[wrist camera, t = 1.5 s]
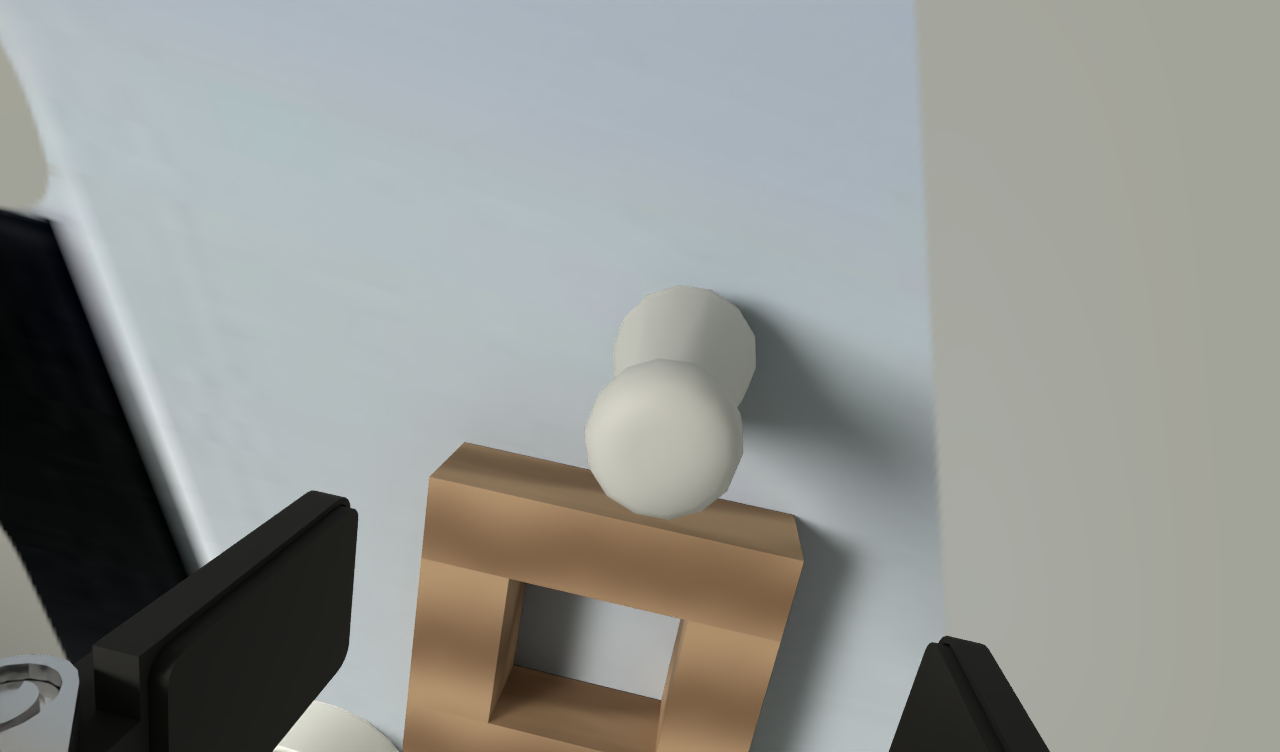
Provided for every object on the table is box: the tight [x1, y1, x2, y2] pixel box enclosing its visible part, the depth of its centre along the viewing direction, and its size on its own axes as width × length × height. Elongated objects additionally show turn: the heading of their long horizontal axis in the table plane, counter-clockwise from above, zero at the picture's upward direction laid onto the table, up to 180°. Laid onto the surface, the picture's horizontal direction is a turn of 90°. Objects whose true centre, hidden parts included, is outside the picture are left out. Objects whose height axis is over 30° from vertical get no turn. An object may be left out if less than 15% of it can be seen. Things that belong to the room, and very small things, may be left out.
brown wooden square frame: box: [402, 442, 804, 752], centre depth 32 cm, size 16×16×4 cm
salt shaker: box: [585, 285, 756, 520], centre depth 23 cm, size 6×6×13 cm
